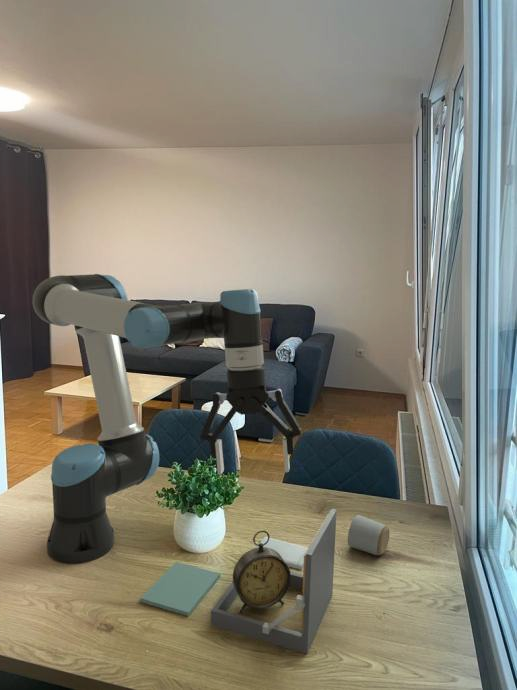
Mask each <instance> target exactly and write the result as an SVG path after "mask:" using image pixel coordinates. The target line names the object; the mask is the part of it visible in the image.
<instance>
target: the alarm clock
mask: <svg viewBox="0 0 517 690" xmlns="http://www.w3.org/2000/svg"><path fill="white" fill-rule="evenodd" d="M260 533H261V534H262V533H265V534H266V535H267V537H268V540H267V542H266V543H264V544H262V543H260V542H259V543H260V544H259V543H258V544H259V545H258V544H257V543H256V541H255V540H256V537H257V536H258V535H259V534H260ZM269 538H271V537H270V533H269V532H268V531H266V530H259V531H257V532H256V533H255V534H254V536H253V537H252V540H253V541H252V542H253V544H255V546H256V547H257V546H259V547H258V548H256V547H255V548H252V549H249V550H248V551H246V552H245V553H244V554H242V555H241V556H240V557H239V559H238V560H237V561H236V564H235V565H234V568H233V570H232V571H233V572H232V582H233V583H234V586H235V589H236V591H237V593H238V595H237V597H238V598H239V599H240V602H242V603H243V605H242V607H241V609H239V612H240V613H241V614H242V613H243V612H244V610H246V607H248V608H252V609H257V610H264V609H266V608H267V609H268V608H271V607H272V606H274V605H277V603H280V604H281V606H284V605H285V602H284V601H282V599H283V598H284V597H285V595H286V594H287V592H288V590H289V589H290V587H289V586H290V581H291V574H290V572H291V570H290V567H289V566H288V565H287V564H286V563H285V561H284V560H283V558H282V557H281V555H280V554H279V553H278V552H277V551H275V550H273V549H271V548H267V547H263V546H264V545H265V544H267V543H268V541H269Z"/></svg>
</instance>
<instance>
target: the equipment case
mask: <svg viewBox="0 0 517 690" xmlns="http://www.w3.org/2000/svg"><path fill="white" fill-rule="evenodd" d="M337 510H338V509H335V508H331V509H330V511H329V513H328V514H327V515H326V517H325V518H324V520H323V522H322V524H321V526H320V527H319V529H318V531H317V532H316V534H315V535H314V537H313V539H312V541H311V543H310V544H309V546H308V549H307V551H306V553H305V555H304V567H303V569H302V573H298V572H294V571H290V574H291V581H290V586H289V589H291V588H292V589H295V590H298V591H302V594H297V596H296V598H295V605H293V606H292V607H290V608H289V609H288V610H286V611H285V612H284V613H282V614H281V615H279V616H278V617H276V618H275V619H274V620H273V621H271V622H265V621H262V620H259V619H255V618H251V617H247V616H246V615H245V616H244V615H240V614H238V613H233V612H230V611H227V610H228V609H229V608H230V606H231V605H232V604H233V603H234V601H235V599H236V598H237V597H238V593H237V591H236V589H235V586H234V583H233V581H232V582H231V583H230V584H229V585H228V587H227V588H226V590H225V591H224V592H223V594H222V595H221V597H219V599H218V601H217V602H216V603H215V604H214V606H213V607H212V608H211V610H210V626H213V627H217V628H219V629H224V630H226V631H230V632H232V633H236V634H240V635H242V636H247V637H249V638H254V639H255V640H260V641H263V642H266V643H269V644H273V645H276V646H278V647H283V648H285V649H286V648H287V649H289V650H293V651H297V652H300V653H303V654H306V655H308V654H309V651H310V649H311V647H312V644H313V642H314V640H315V636H317V635H316V634H317V633H318V630H319V627H320V625H321V624H322V620H323V619H324V616H325V613H326V611H327V609H328V607H329V604H330V602H331V599H332V597H333V594H334V593H333V590H334V569H335V548H336V532H337V531H336V530H337V514H338V513H337V512H338V511H337ZM298 611H300V612H301V619H300V620H301V623H300V625H301V627H300V628H302V632H299V631H296V630H292V629H289V628H286V627H283V626H279V625H280V624H282V623H283V622H284V621H286V620H287V619H289V618H290V617H292V616H293V615H294V614H295V613H297V612H298Z"/></svg>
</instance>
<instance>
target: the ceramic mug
mask: <svg viewBox="0 0 517 690" xmlns="http://www.w3.org/2000/svg"><path fill="white" fill-rule="evenodd" d="M389 541H390V529H389V527H388V526H387V525H385V524H383V523H381V522H379V521H376V520H373V519H370V518H367V517H365V516H363V515H360V514H357V515H355V516H354V518H353V519H352V521H351V523H350V526H349V530H348V532H347V544H348V546H349V547H350V548H352V549H356V550H359V551H361V552H365V553H367V554H372V555H375V556H382V555H383V554H384V553H385V552H386V550H387V547H388V544H389Z"/></svg>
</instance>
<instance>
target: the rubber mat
mask: <svg viewBox="0 0 517 690" xmlns="http://www.w3.org/2000/svg"><path fill="white" fill-rule="evenodd" d="M220 578H221V573H219V572H216V571H212V570H209V569H205V568H203V567H196V566H194V565H190V564H185V563H182V562H178V561H175V562H174V563H173V564H172V565H171V566H170V567H169V568H168V569H167V570H166V572H164V573H163V575H161V577H160V578H159V579H158V580H156V581H155V582H154V584H153V585H152V586H150V587H149V589H148V590H147V591H145V592H144V594H143V595H141V597H140V599H139V600H140V603H143V604H146V603H147V605H150V606H153V607H156V608H161V609H163V610H166V611H170V612H173V611H174V612H173V613H177V614H179V615H184V616H187V617H190V615H191V614H192V613H193V611H195V609H196V608H197V607H198V605H199V604H201V602H202V600H203V599H204V598H205V597H206V595H207V594H208V593H209V591H211V589H212V588H213V587H214V585H215V584H216V583H217V581H218V580H220Z"/></svg>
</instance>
